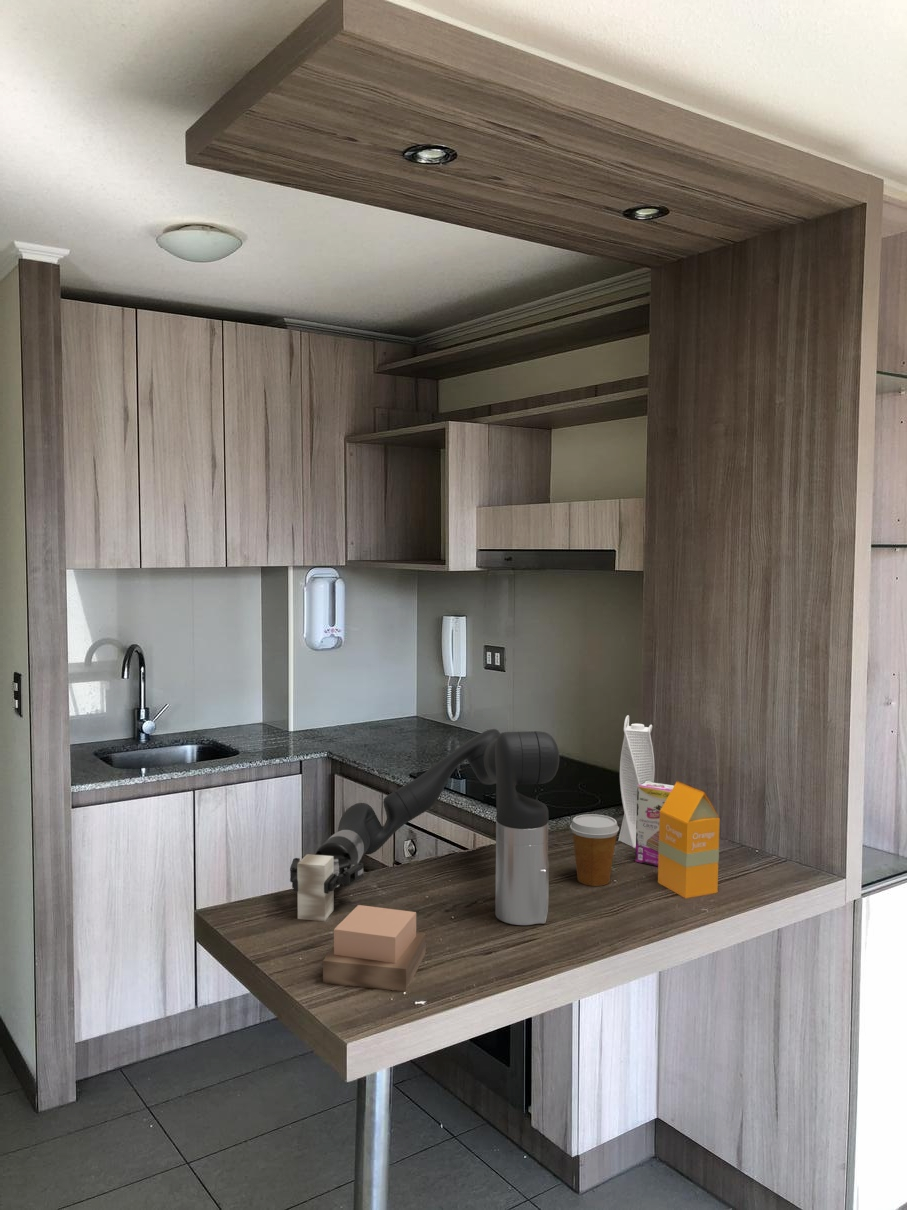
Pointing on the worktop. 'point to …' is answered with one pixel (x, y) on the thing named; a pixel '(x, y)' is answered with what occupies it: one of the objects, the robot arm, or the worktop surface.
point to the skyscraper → (634, 774)
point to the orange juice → (688, 843)
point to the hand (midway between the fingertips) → (310, 886)
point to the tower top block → (375, 933)
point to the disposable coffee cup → (594, 847)
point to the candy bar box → (649, 820)
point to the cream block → (314, 887)
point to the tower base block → (376, 968)
